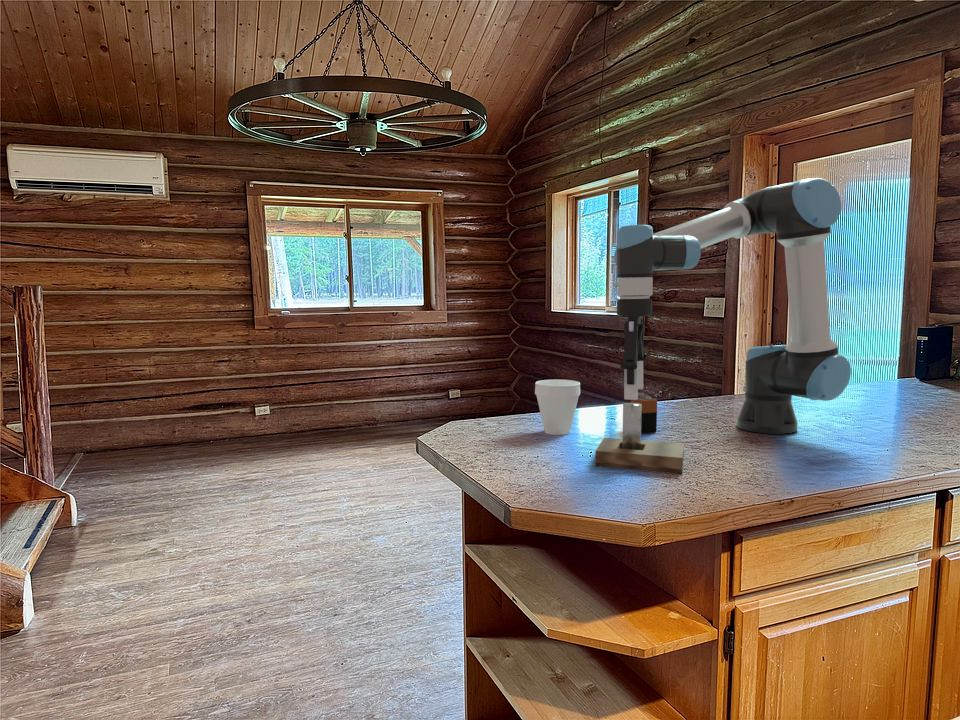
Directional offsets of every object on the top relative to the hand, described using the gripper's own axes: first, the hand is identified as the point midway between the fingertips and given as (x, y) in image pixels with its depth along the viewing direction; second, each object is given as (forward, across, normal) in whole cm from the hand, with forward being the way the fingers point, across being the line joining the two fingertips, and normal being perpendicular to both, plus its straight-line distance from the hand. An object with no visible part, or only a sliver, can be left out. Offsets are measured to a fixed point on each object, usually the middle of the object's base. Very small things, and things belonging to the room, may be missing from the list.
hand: (634, 394), depth 135 cm
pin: (+14, 0, 0) cm, 14 cm away
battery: (+16, -32, 0) cm, 36 cm away
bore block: (+15, 0, +2) cm, 15 cm away
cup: (+16, -23, -23) cm, 36 cm away
